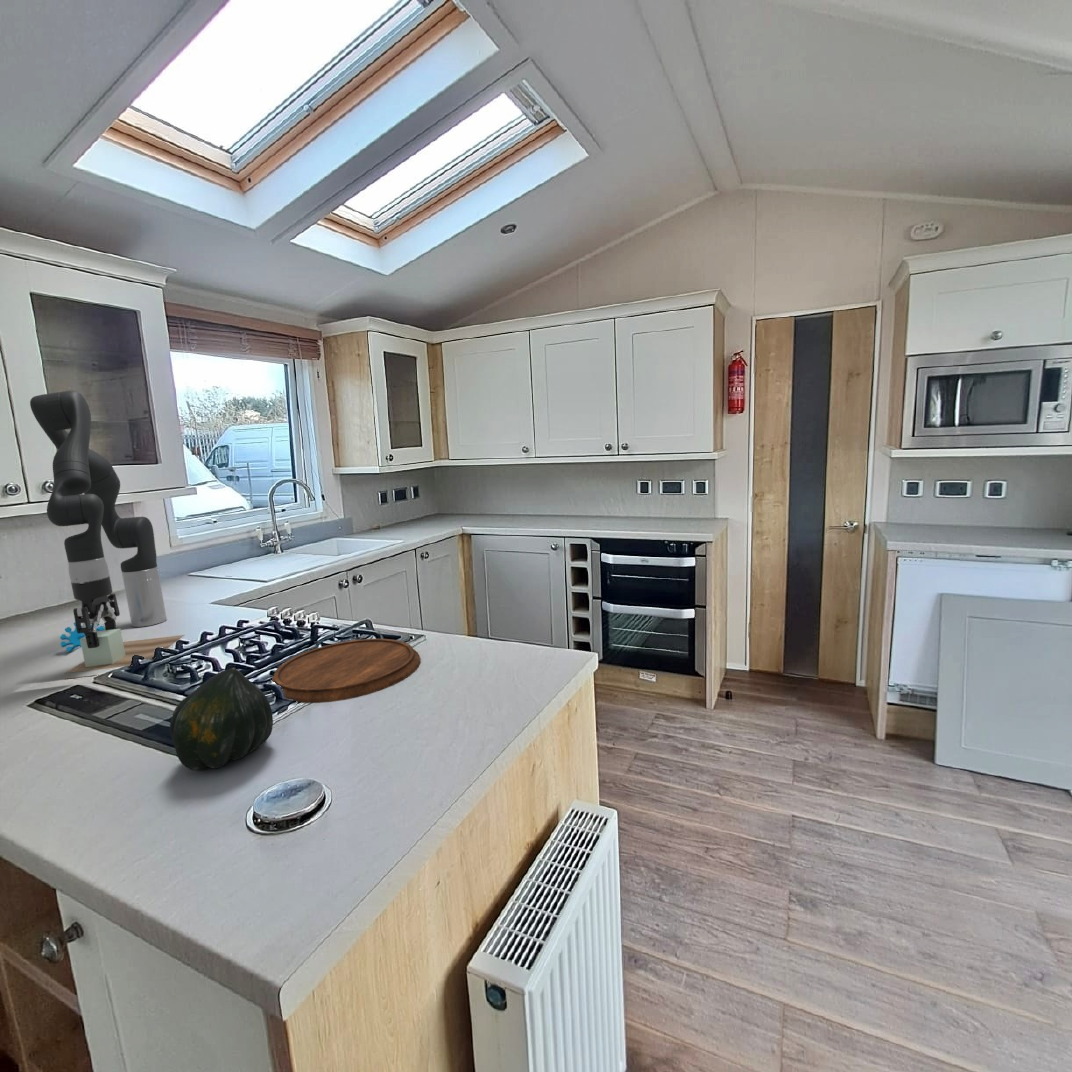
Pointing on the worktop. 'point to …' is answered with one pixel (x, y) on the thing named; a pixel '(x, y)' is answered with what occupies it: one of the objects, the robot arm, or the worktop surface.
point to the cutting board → (346, 670)
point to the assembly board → (131, 653)
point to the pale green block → (104, 648)
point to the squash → (220, 721)
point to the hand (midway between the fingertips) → (103, 641)
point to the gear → (75, 637)
